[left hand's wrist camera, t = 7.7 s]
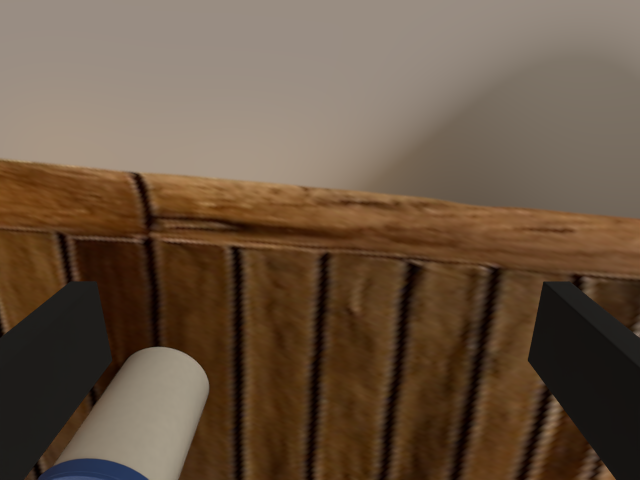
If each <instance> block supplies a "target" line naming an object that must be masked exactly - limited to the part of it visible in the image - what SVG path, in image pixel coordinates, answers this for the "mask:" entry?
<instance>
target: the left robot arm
mask: <svg viewBox="0 0 640 480" xmlns="http://www.w3.org/2000/svg"><path fill="white" fill-rule="evenodd" d="M111 362H112V357H111V352H110V347H109V342H108V337H107V332H106V327H105V322H104V317H103V312H102V307H101V302H100V297H99V292H98V287H97V282H69V283H68V284H67V285H66V286H64V287H63V288H62V289H61V290H59V291H58V292H57V293H56V294H54V295H53V296H52V297H51V298H49V299H48V300H47V301H46V302H44V303H43V304H42V305H41V306H40V307H38V308H37V309H36V310H35V311H33V312H32V313H31V314H30V315H28V316H27V317H26V318H25V319H23V320H22V321H21V322H20V323H18V324H17V325H16V326H15V327H13V328H12V329H11V330H10V331H8V332H7V333H6V334H5V335H4V336H2V337H1V338H0V480H24V479H25V477H26V476H27V475H28V473H29V472H30V471H31V469H32V468H33V467H34V465H35V464H36V463H37V461H38V460H39V459H40V457H41V456H42V454H43V453H44V452H45V450H46V449H47V448H48V446H49V445H50V444H51V442H52V441H53V440H54V438H55V437H56V436H57V434H58V433H59V432H60V430H61V429H62V428H63V426H64V425H65V424H66V422H67V421H68V419H69V418H70V417H71V415H72V414H73V413H74V411H75V410H76V409H77V407H78V406H79V405H80V403H81V402H82V401H83V399H84V398H85V397H86V395H87V394H88V393H89V391H90V390H91V388H92V387H93V386H94V384H95V383H96V382H97V380H98V379H99V378H100V376H101V375H102V374H103V372H104V371H105V370H106V368H107V367H108V366H109V364H110V363H111ZM528 362H529V363H530V364H531V366H532V367H533V368H534V370H535V371H536V372H537V374H538V375H539V376H540V378H541V379H542V380H543V382H544V383H545V384H546V386H547V387H548V388H549V390H550V391H551V393H552V394H553V395H554V397H555V398H556V399H557V401H558V402H559V403H560V405H561V406H562V407H563V409H564V410H565V411H566V413H567V414H568V415H569V417H570V418H571V419H572V421H573V422H574V424H575V425H576V426H577V428H578V429H579V430H580V432H581V433H582V434H583V436H584V437H585V438H586V440H587V441H588V442H589V444H590V445H591V446H592V448H593V449H594V450H595V452H596V453H597V454H598V456H599V457H600V459H601V460H602V461H603V463H604V464H605V465H606V467H607V468H608V469H609V471H610V472H611V473H612V475H613V476H614V477H615V479H616V480H640V338H639V337H638V336H636V335H635V334H634V333H633V332H632V331H630V330H629V329H628V328H627V327H625V326H624V325H623V324H622V323H620V322H619V321H618V320H617V319H615V318H614V317H613V316H612V315H610V314H609V313H608V312H607V311H605V310H604V309H603V308H602V307H600V306H599V305H598V304H597V303H596V302H594V301H593V300H592V299H591V298H589V297H588V296H587V295H586V294H584V293H583V292H582V291H581V290H579V289H578V288H577V287H576V286H574V285H573V284H572V283H571V282H543V287H542V292H541V297H540V302H539V307H538V312H537V317H536V322H535V327H534V332H533V337H532V342H531V347H530V352H529V357H528Z"/></svg>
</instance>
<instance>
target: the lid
mask: <svg viewBox="0 0 640 480" xmlns="http://www.w3.org/2000/svg"><path fill="white" fill-rule="evenodd" d="M37 480H149V479H148V478H146V477H145V476H143V475H142V474H141V473H139V472H137V471H135V470H134V469H132V468H129V467H127V466H125V465H122V464H119V463H116V462H112V461H108V460H103V459H92V458H84V459H74V460H69V461H65V462H62V463H59V464H57V465H55V466H53V467H51V468H50V469H48V470H46V471H45V472H44V473H43V474H42V475H41V476H40V477H39V478H38V479H37Z"/></svg>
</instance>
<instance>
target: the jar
mask: <svg viewBox="0 0 640 480" xmlns="http://www.w3.org/2000/svg"><path fill="white" fill-rule="evenodd" d="M208 394H209V383H208V379H207V376H206V374H205V372H204V370H203V369H202V367H201V366H200V365H199V364H198V363H197V362H196V361H195V360H194V359H193V358H191V357H190V356H188V355H187V354H185V353H183V352H181V351H178V350H175V349H171V348H166V347H151V348H146V349H143V350H140V351H138V352H136V353H134V354H133V355H131V356H130V357H129V358H128V359H127V360H126V361H125V362H124V364H123V365H122V366H121V368H120V369H119V371H118V372H117V374H116V375H115V377H114V378H113V379H112V381H111V382H110V384H109V385H108V387H107V388H106V390H105V391H104V392H103V394H102V395H101V397H100V398H99V400H98V401H97V402H96V404H95V405H94V407H93V408H92V410H91V411H90V413H89V414H88V415H87V417H86V418H85V420H84V421H83V423H82V424H81V426H80V427H79V428H78V430H77V431H76V433H75V434H74V436H73V437H72V438H71V440H70V441H69V443H68V444H67V446H66V447H65V449H64V450H63V451H62V453H61V454H60V456H59V457H58V459H57V460H56V462H55V463H54V464H53V466H55V465H57V464H59V463H62V462H65V461H69V460H74V459H84V458H92V459H103V460H108V461H112V462H116V463H119V464H122V465H125V466H127V467H129V468H132V469H134V470H135V471H137V472H139V473H141V474H142V475H143V476H145V477H146V478H148V479H149V480H179V477H180V474H181V471H182V468H183V466H184V463H185V460H186V457H187V454H188V452H189V449H190V446H191V443H192V440H193V437H194V435H195V432H196V429H197V426H198V423H199V421H200V418H201V415H202V412H203V409H204V406H205V404H206V401H207V398H208ZM53 466H52V467H53Z"/></svg>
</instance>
